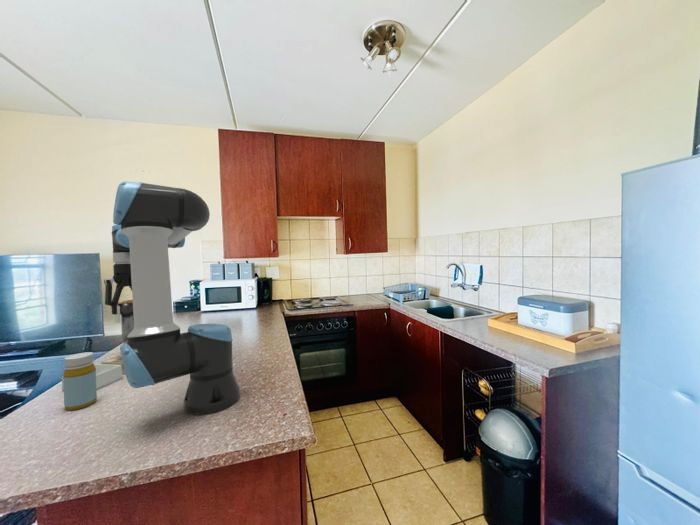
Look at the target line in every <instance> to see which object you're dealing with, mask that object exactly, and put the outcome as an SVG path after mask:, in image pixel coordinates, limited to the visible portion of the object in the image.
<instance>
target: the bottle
mask: <svg viewBox="0 0 700 525" xmlns="http://www.w3.org/2000/svg"><path fill="white" fill-rule="evenodd" d="M94 365H95V364H94V352H92V351H87V352H86V351H85V352H80V353H74V354H71V355H68V356H65V357H64V370H63V374H62V376H63V384H64V391H63V403H64V408H65V410H68V411H77V410H81V409H84V408H87V407H89V406H92V405H93V404H94V403H95V402H96V401H97V400H98V399H97V398H98V396H97V395H98V394H97V391H98V390H97V388H96V367H95V366H94Z"/></svg>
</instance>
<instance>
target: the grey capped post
mask: <svg viewBox="0 0 700 525" xmlns="http://www.w3.org/2000/svg"><path fill="white" fill-rule="evenodd" d="M126 301H127V300H126ZM117 306H120V324H121V340H122V342H125V341H128V339H127V336H128V335H129V334H130V333H131V332H132V331H133V329H134V314H133V301H127V302H123V301H120V302H119V301H118V304H117Z"/></svg>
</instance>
